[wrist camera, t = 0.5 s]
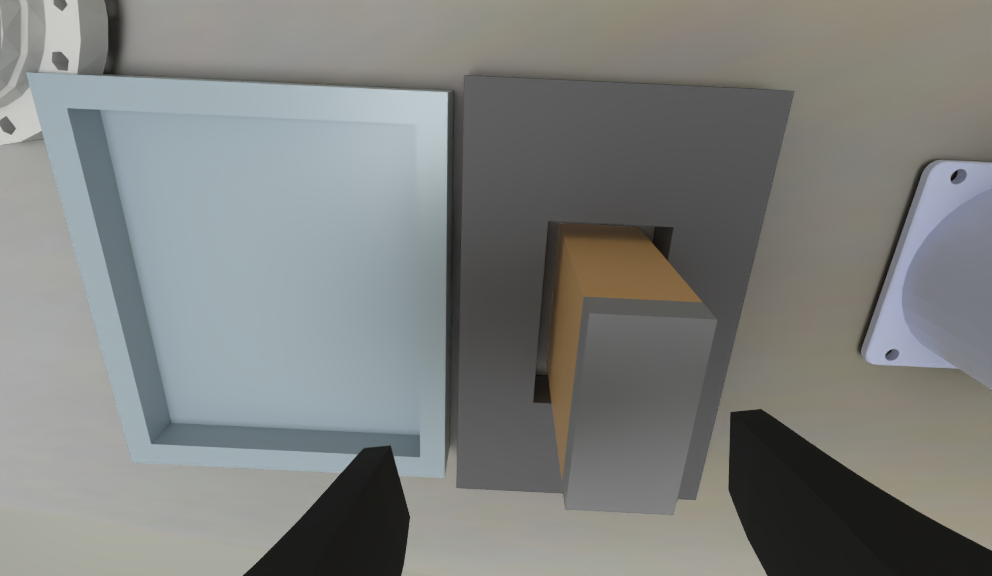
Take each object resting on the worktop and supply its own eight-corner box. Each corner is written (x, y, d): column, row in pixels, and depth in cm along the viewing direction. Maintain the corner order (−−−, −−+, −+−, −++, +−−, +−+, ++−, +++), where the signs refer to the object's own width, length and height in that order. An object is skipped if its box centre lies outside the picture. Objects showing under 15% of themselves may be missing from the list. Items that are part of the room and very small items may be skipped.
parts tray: (453, 90, 18) (447, 92, 16) (449, 446, 24) (444, 478, 22) (75, 72, 18) (25, 72, 16) (161, 432, 24) (131, 462, 22)
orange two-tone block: (639, 227, 20) (717, 319, 12) (617, 366, 22) (673, 515, 15) (558, 223, 20) (589, 313, 12) (546, 362, 22) (565, 509, 15)
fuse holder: (764, 88, 18) (794, 90, 16) (680, 466, 24) (695, 499, 22) (468, 75, 18) (464, 75, 16) (460, 455, 24) (456, 488, 22)
